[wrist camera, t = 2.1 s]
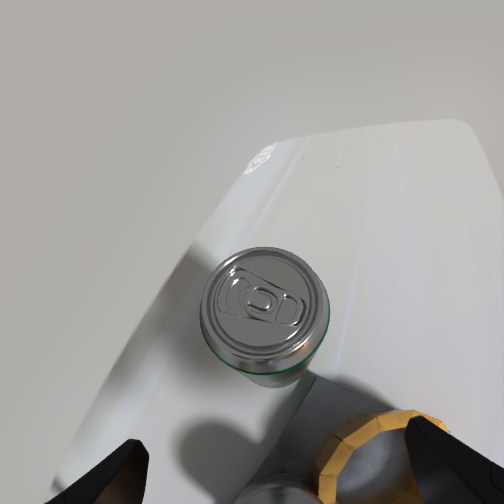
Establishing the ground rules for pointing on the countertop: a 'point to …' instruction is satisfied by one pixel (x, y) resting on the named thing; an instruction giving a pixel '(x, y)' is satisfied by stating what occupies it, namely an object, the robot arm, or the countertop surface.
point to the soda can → (265, 315)
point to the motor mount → (338, 454)
